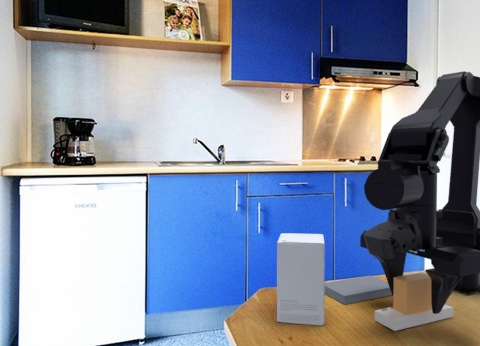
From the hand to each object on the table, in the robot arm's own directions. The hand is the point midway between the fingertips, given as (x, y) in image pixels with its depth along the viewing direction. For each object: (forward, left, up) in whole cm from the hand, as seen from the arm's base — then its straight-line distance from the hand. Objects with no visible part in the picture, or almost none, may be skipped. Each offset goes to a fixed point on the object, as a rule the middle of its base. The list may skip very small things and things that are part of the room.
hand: (414, 303), depth 58 cm
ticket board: (0, -13, -2) cm, 13 cm away
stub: (0, 0, -2) cm, 2 cm away
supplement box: (+15, -9, -3) cm, 18 cm away
